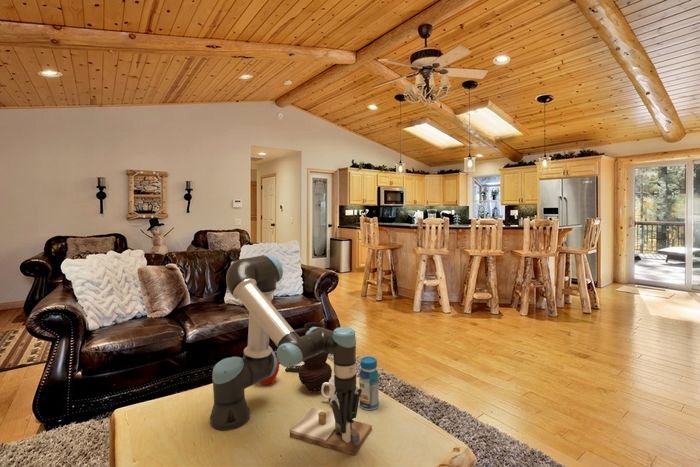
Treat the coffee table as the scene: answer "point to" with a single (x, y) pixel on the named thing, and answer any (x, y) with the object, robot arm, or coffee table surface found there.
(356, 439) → the bar
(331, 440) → the door board
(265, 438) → the coffee table surface
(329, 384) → the cup
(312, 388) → the vase
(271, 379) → the apple
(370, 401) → the beverage bottle
